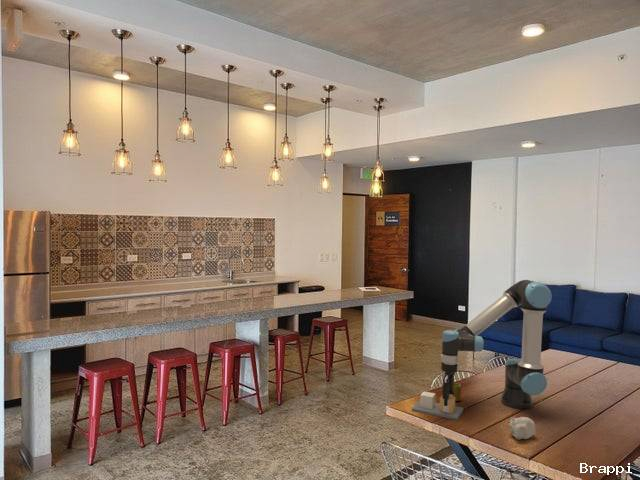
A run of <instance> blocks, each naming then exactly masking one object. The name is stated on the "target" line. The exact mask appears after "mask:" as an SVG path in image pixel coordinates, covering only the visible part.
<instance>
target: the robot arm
mask: <svg viewBox="0 0 640 480" xmlns="http://www.w3.org/2000/svg"><path fill="white" fill-rule="evenodd" d="M551 301H552V291H551V290H550V288H549V287H548V286H547V285H546V284H543V283H542V282H539V281H534V280H529V279H522V280H519V281H517V282H516V283H514V284H513V285H511V286H510V287H509V288H507V289H506V290H504V291H503V293H502V295H501V297H499V298H498V299H497V300H495V301H494V302H493V303H492V304H490V305H489V306H487V307H486V308H485V309H484V310H483V311H481V312H480V313H479V314H478V315H477V316H475V317H474V318H472V320H470V321H469V322H467V324H465V325H464V326H462V327H460V328H459V327H458V328H456V329H454V330H451V329H446V330H443V331H442V339H441V354H440V357H441V363H440V364H441V365H440V366H441V368H440V370H441V371H442V372H444V374H443V378H442V395H441V397H442V399H443V412H447V413H449V396H451V397H453V395H452V394H454V383H455V373H456V372H457V371H458V361H459V359H458V358H459V357H458V356H459V355H458V353H459V352H475V353H476V352H478V353H479V352H482V351H483V350H484V347H485V346H484V345H485V343H484V339H483V337H482V336H480V334H481V333H483V332H484V331H485V330H486V329H488V327H490V326H491V325H493V324H494V323H495V322H496V321H498V320H499V319H501V317H503V316H504V315H505V314H507V313H508V312H509V311H510V310H512V309H513V308H517V307H519V306H520V310H521V311H522V312H523V317H522V318H523V319H522V321H523V322H522V335H521V336H522V337H521V338H522V340H521V358H507V359H506V361H505V367H504V368H505V371H504V373H505V374H504V379H505V380H504V388H503V391H502V393H501V396H500V403H501V404H503V405H505V406H506V407H510V408H514V409H520V410H521V409H522V410H523V409H524V410H525V409H530V408H533V405H534V404H533V398H532V396H538V395H541V394H542V393H543V392H544V391H545V390H546V389H547V386H548V380H547V378H546V376H545V375H544V365H542V363H541V357H542V356H541V355H542V342H543V341H542V336H543V319H544V314H545V313H546V312H547V311H548V310H547V309H548V306H549V305H550V303H552V302H551Z"/></svg>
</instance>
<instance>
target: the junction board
mask: <svg viewBox="0 0 640 480" xmlns="http://www.w3.org/2000/svg"><path fill="white" fill-rule="evenodd" d="M436 395H437V394H436V393H435V392H429V391H423V392H422V393H421V394H420V396H419V397H420V398H419V400H418V401H417V402H416V403H415V404H414V405H413V406H412V408H411V411H412V412H416V413H421V414H425V415H431V416H436V417H441V418H445V419H450V420H455V421H458V419H459V418H460V416H461V415H462V413H463V412H464V407H462V406H461V407H460V406H456V405H455V410H454V411H453V413H447V412H442V411H440V402H436V398H437V397H436Z"/></svg>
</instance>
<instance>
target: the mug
mask: <svg viewBox="0 0 640 480" xmlns="http://www.w3.org/2000/svg"><path fill="white" fill-rule="evenodd" d="M452 395H453V397H455V402H460V401H462V385H461V384H460V383H458V382H454V394H452Z"/></svg>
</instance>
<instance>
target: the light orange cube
mask: <svg viewBox="0 0 640 480" xmlns="http://www.w3.org/2000/svg"><path fill="white" fill-rule="evenodd" d="M439 403H440V411H442V412H443V399H442V396H440V397H439ZM455 406H456V401H455V397H451V396H449V413H453V411H454V410H455Z"/></svg>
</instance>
